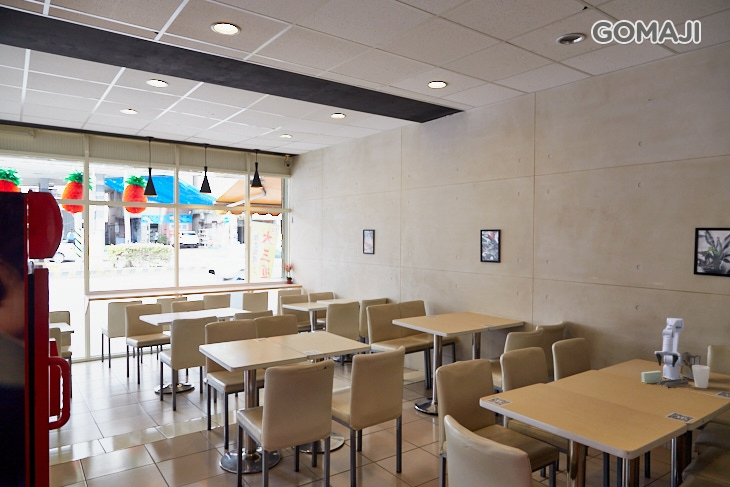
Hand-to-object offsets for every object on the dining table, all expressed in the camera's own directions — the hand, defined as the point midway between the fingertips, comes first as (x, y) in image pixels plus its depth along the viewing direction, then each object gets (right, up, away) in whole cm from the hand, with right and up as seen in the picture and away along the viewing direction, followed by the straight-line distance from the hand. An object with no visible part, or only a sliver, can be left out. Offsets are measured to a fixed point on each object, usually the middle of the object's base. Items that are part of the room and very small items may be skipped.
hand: (666, 365), depth 307 cm
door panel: (-4, -13, +8) cm, 17 cm away
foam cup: (+20, -13, -5) cm, 24 cm away
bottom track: (+5, -13, +1) cm, 14 cm away
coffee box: (+26, -12, +16) cm, 33 cm away
